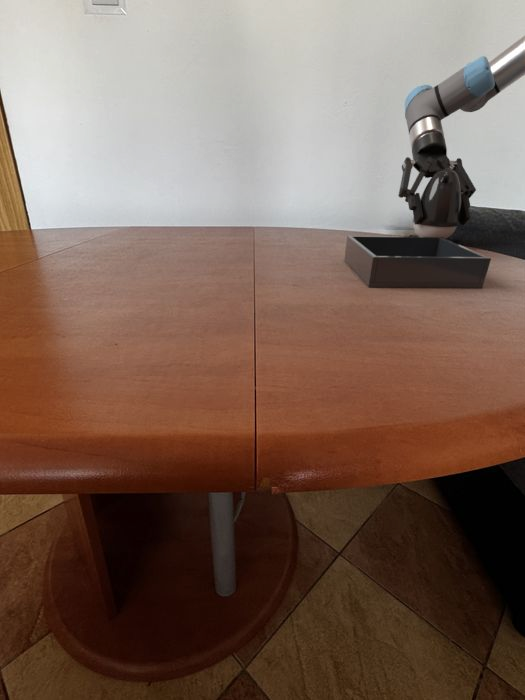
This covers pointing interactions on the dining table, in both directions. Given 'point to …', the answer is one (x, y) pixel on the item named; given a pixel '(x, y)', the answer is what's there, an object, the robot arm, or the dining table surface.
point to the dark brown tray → (415, 262)
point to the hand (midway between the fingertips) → (442, 221)
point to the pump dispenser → (440, 205)
